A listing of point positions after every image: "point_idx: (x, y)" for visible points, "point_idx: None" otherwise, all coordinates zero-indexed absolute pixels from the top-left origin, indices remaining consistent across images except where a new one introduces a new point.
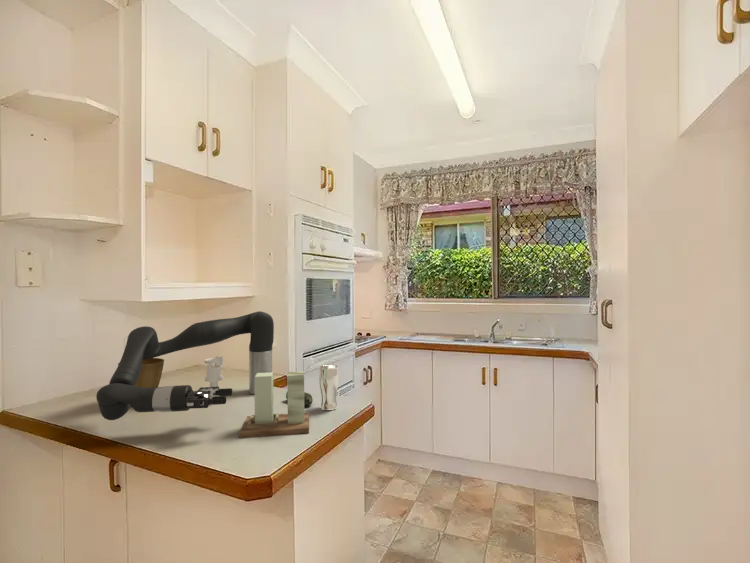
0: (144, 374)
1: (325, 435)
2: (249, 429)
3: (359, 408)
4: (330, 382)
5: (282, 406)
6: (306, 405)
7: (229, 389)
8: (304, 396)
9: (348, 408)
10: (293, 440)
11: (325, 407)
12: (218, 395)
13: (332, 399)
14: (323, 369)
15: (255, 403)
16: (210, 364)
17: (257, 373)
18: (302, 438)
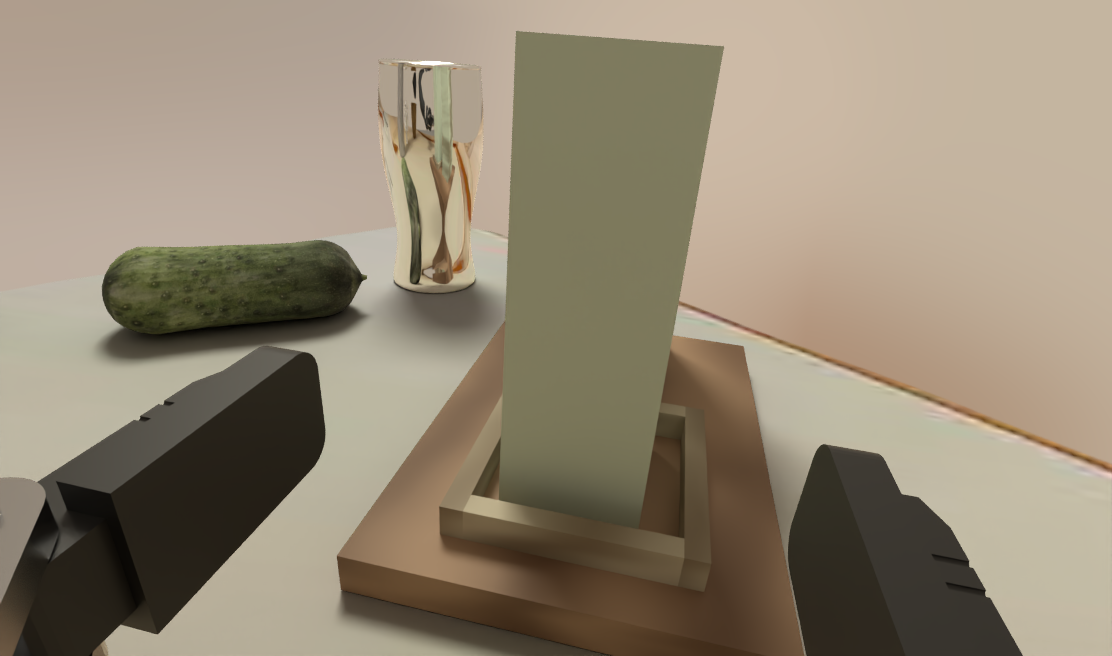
0: None
1: (771, 341)
2: (724, 576)
3: (501, 243)
4: (481, 144)
5: (214, 372)
6: (347, 305)
7: (290, 373)
8: (336, 259)
9: (480, 254)
10: (835, 423)
11: (461, 274)
12: (97, 650)
13: (470, 230)
14: (456, 72)
15: (667, 355)
16: None
17: (546, 33)
18: (806, 395)
